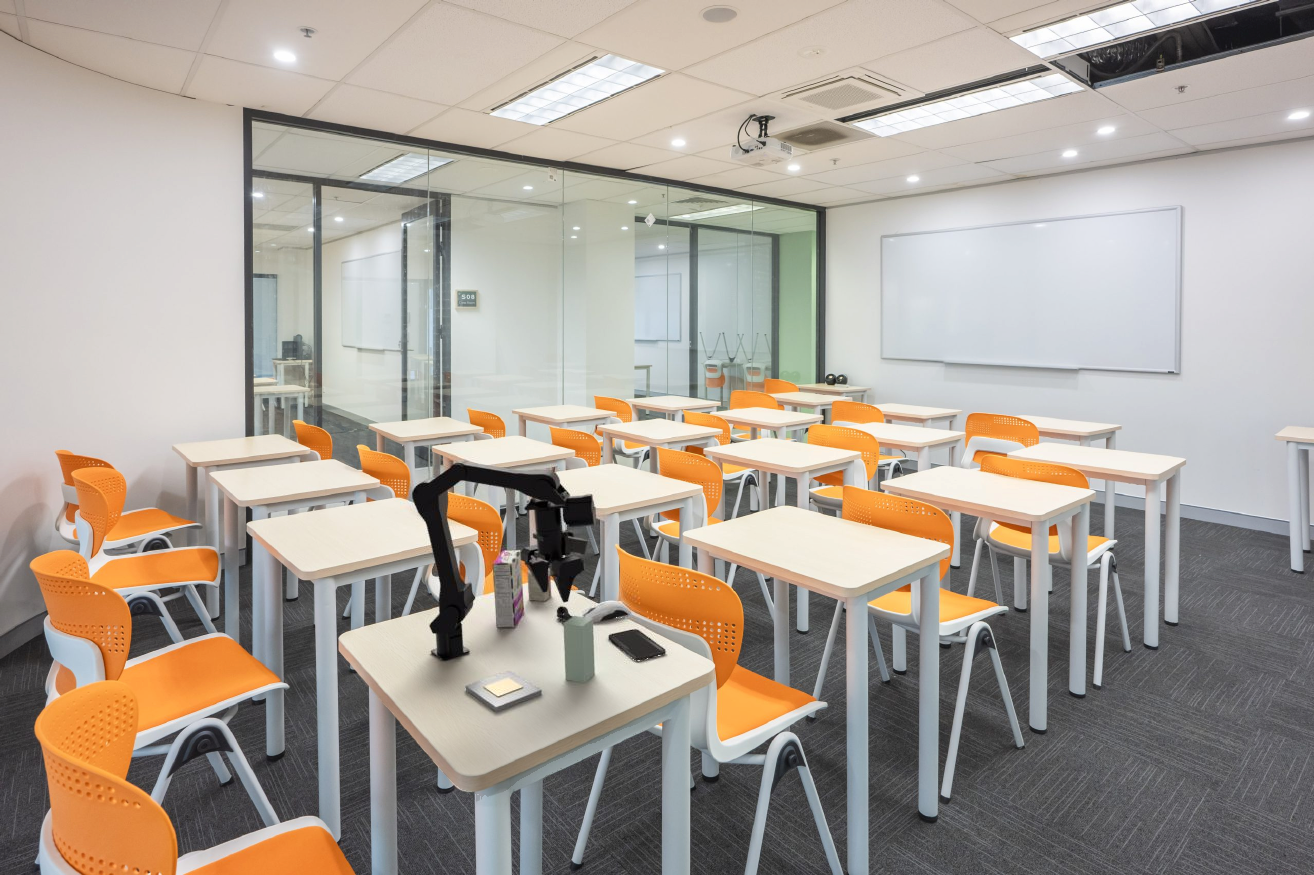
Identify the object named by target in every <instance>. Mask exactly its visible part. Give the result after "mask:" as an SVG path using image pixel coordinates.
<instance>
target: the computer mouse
mask: <svg viewBox="0 0 1314 875" xmlns="http://www.w3.org/2000/svg"><path fill="white" fill-rule="evenodd" d="M568 609H569V608H567V607H566V606H558V607H557V609H556V617H557V618H558V619H560V620H561V621H562V623H563V624H564V623H565V622H566V621H568V620H569V619H570V618H572V617H573V616H574V615H571V614H570V612H569V610H568ZM581 614H582V617H586V618H593V624H594V623H600V622H602V621H603V622H604V621H609V620H616V619H615V618H616V617H617V618H619V619H625V618H626V617H629V616H631V615H632V611H631V609H630V608H628V606H626V605H625V604H624V603H622V602H620V601H616V600H607V601H606V600H605V601H602V602H600V603H599V602H598V603H597V604H594V605H593V606H590V607H588V608H587V609H584V610H583V611H582V613H581ZM621 617H622V618H621Z"/></svg>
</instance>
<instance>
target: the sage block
mask: <svg viewBox="0 0 1314 875" xmlns="http://www.w3.org/2000/svg"><path fill="white" fill-rule="evenodd" d="M572 616H573V617H572V618H570V619H569V620H568V621H566V622H565V623H563V644H564V646H563V648H564V670H565V672H564V673H565V676H564V677H565V680H566V681H569V682H570V681H572V682H576V683H582V684H586V683H587V682H588V681H589V680H590V679H591V678H592V677H593V676H594V675H595V673H596V672H595V670H596V667H595V643H594V642H595V641H594V639H595V638H594V636H595V635H594V622H593V618H586V617H584V616H578V615H572Z"/></svg>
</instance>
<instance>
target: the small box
mask: <svg viewBox="0 0 1314 875" xmlns="http://www.w3.org/2000/svg"><path fill="white" fill-rule="evenodd" d="M526 574H527V575H526V576H527V590H528V591H527V593H528V600H529V599H530V600H529V601H540V602H546V601H547V600H548V599H550V598H551V597H552V585H551V583H552V582H551V578H552V577H551V568H548V591H547V592H545V593H543V592H542V590H541V589H540V587H539V585H538V583H537V582H536V580H535V578H534V577H533V575H532V574H531V572H530V570H528V571H527V573H526Z"/></svg>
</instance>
